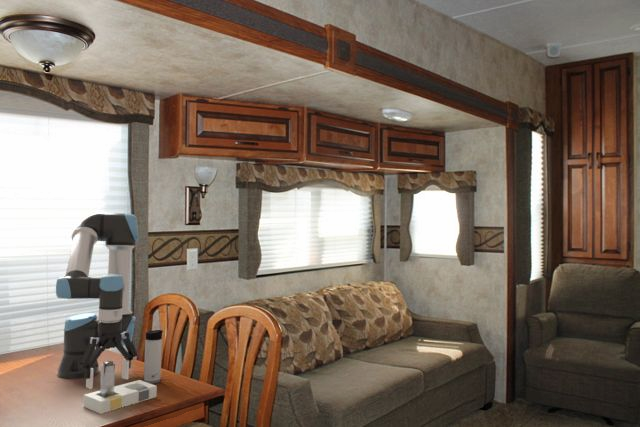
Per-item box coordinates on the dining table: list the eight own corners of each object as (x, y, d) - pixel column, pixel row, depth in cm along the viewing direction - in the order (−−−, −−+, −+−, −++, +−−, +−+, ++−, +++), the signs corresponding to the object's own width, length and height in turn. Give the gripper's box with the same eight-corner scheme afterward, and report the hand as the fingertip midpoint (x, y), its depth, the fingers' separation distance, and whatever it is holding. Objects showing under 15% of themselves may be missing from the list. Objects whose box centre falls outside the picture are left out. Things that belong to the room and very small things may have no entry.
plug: (97, 406, 186) (98, 362, 186) (108, 402, 189) (110, 359, 189) (104, 409, 183) (106, 364, 183) (116, 405, 187) (117, 362, 187)
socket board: (83, 406, 185) (84, 394, 185) (139, 390, 203) (139, 379, 203) (101, 414, 179) (101, 401, 179) (156, 397, 197) (157, 385, 197)
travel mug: (156, 384, 211) (158, 332, 210) (140, 382, 212) (142, 331, 212) (164, 379, 217) (166, 329, 217) (148, 378, 218) (150, 327, 218)
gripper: (82, 327, 174) (79, 394, 174) (148, 317, 194) (145, 377, 194) (69, 324, 178) (66, 389, 178) (134, 314, 199) (132, 372, 199)
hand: (107, 383), depth 186 cm, fingers open, 13 cm apart
